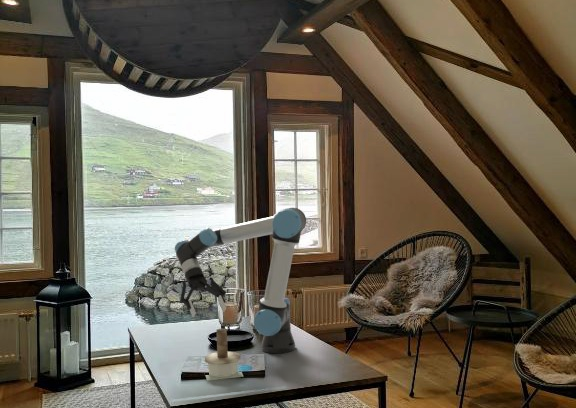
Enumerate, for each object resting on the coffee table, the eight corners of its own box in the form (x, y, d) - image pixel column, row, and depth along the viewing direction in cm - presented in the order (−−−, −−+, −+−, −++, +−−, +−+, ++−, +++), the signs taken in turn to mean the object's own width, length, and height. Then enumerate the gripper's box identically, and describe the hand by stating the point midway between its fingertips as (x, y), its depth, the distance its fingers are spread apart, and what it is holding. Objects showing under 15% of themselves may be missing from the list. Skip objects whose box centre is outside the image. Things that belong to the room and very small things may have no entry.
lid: (232, 351, 234) (231, 323, 233) (246, 360, 221) (245, 330, 221) (199, 357, 227) (198, 328, 226) (212, 366, 215) (211, 336, 214)
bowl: (235, 366, 231) (234, 353, 231) (239, 375, 220) (238, 361, 220) (207, 369, 228) (207, 356, 228) (210, 378, 217) (209, 364, 217)
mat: (238, 366, 233) (238, 365, 233) (243, 377, 219) (243, 376, 219) (203, 370, 229) (203, 369, 229) (207, 382, 216) (206, 380, 216)
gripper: (216, 273, 253) (234, 313, 241) (163, 280, 240) (178, 322, 228) (221, 263, 249) (239, 302, 237) (167, 269, 235) (183, 311, 223)
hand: (209, 312), depth 232 cm, fingers open, 13 cm apart
